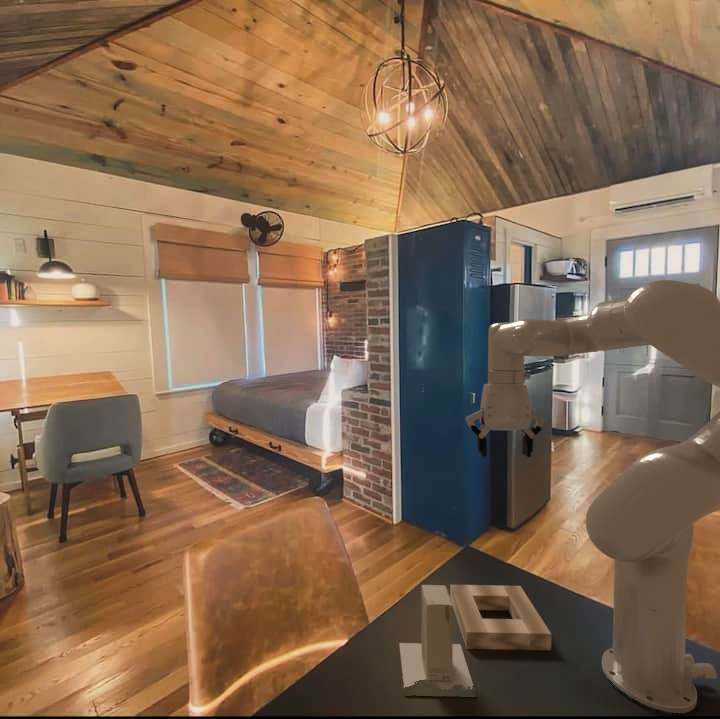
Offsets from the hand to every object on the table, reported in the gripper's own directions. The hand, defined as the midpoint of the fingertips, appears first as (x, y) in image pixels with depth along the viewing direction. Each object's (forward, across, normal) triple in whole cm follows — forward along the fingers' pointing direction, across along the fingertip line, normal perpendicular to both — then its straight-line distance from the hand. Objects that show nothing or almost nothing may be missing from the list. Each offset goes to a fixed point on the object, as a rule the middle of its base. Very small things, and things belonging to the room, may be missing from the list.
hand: (504, 455), depth 91 cm
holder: (+30, +5, +11) cm, 33 cm away
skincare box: (+30, +19, +23) cm, 43 cm away
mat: (+30, +19, +24) cm, 43 cm away
